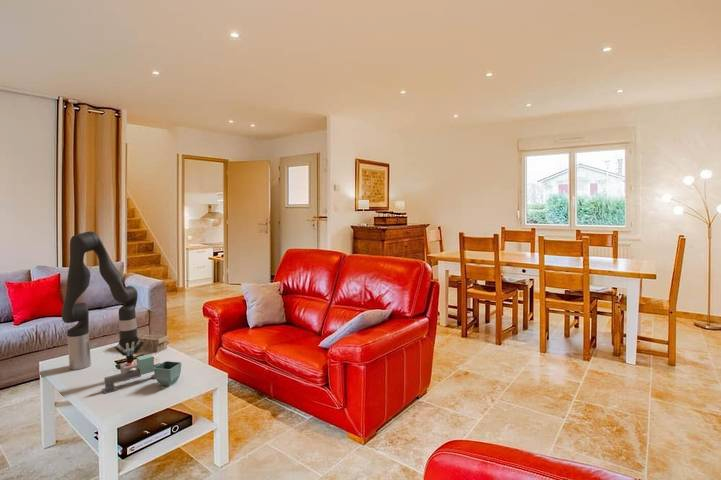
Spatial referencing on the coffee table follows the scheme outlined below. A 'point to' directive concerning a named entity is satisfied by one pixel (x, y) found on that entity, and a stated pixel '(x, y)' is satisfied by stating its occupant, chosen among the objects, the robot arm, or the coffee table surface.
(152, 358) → the carriage
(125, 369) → the cabinet
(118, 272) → the robot arm
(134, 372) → the handrail
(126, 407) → the coffee table surface
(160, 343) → the block tower
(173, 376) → the flower pot
